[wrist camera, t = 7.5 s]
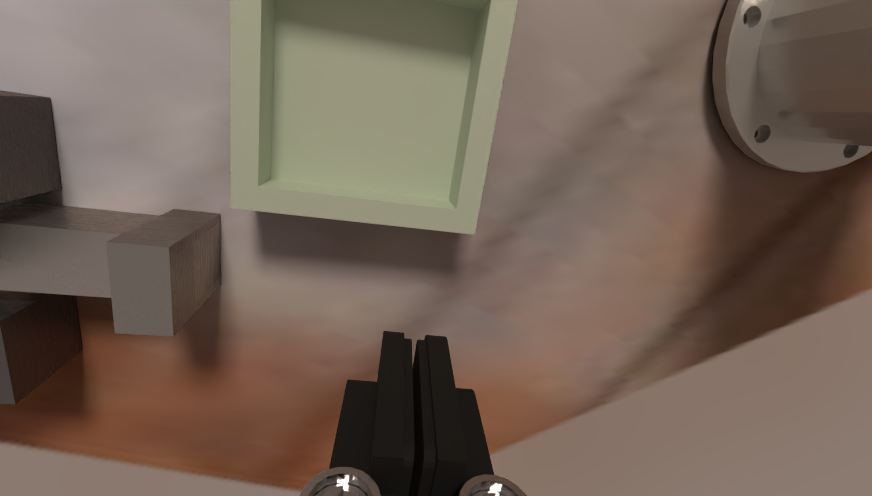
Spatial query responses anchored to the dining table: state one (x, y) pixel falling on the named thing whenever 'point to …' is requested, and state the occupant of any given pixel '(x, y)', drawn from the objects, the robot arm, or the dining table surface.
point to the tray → (366, 107)
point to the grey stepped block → (114, 260)
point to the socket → (26, 311)
